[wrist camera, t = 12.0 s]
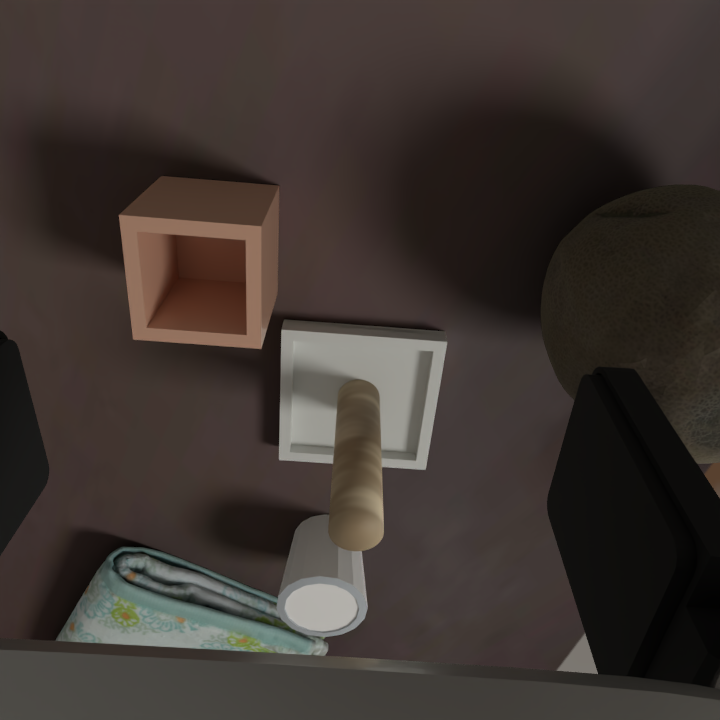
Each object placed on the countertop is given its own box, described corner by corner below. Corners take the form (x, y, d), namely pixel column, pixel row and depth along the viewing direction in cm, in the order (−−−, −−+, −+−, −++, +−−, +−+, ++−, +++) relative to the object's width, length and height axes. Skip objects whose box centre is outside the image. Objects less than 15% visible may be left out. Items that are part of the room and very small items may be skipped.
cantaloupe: (492, 349, 44) (545, 499, 31) (552, 140, 37) (652, 222, 24) (687, 374, 45) (817, 530, 32) (781, 175, 38) (997, 272, 25)
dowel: (381, 381, 45) (386, 512, 34) (377, 415, 46) (380, 552, 35) (339, 378, 45) (329, 509, 33) (336, 412, 46) (326, 549, 35)
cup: (279, 185, 38) (261, 226, 32) (277, 292, 42) (261, 348, 35) (161, 175, 38) (118, 215, 32) (169, 284, 42) (133, 339, 35)
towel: (249, 710, 67) (240, 761, 63) (52, 641, 61) (28, 691, 57) (336, 614, 59) (334, 665, 55) (119, 525, 54) (97, 573, 49)
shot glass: (380, 554, 54) (381, 625, 48) (308, 575, 56) (300, 647, 50) (347, 499, 51) (344, 567, 45) (271, 523, 53) (259, 592, 47)
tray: (444, 331, 43) (447, 341, 42) (424, 457, 49) (425, 469, 48) (283, 319, 43) (281, 329, 42) (281, 447, 49) (279, 459, 47)
